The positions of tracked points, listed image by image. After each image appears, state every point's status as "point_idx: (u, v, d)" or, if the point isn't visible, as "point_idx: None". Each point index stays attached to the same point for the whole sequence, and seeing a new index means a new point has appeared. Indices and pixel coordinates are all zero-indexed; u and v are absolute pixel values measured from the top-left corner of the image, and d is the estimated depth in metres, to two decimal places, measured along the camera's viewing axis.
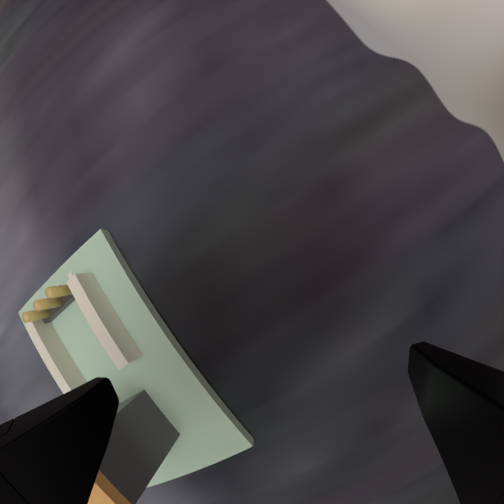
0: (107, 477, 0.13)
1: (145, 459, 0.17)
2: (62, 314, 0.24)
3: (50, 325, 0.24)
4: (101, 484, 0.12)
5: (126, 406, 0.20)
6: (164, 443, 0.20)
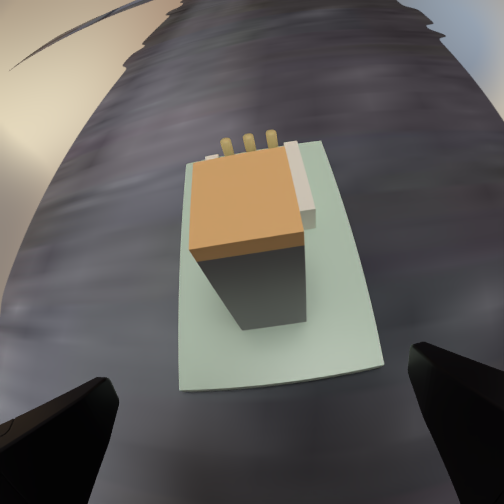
0: None
1: None
2: None
3: None
4: None
5: None
6: None
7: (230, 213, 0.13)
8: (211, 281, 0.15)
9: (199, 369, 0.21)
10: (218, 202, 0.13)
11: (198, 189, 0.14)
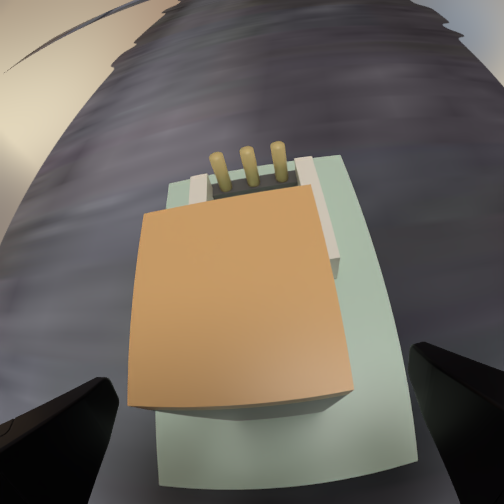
0: None
1: None
2: None
3: None
4: None
5: None
6: None
7: (204, 337, 0.06)
8: (182, 414, 0.08)
9: (183, 464, 0.14)
10: (181, 308, 0.07)
11: (147, 273, 0.07)
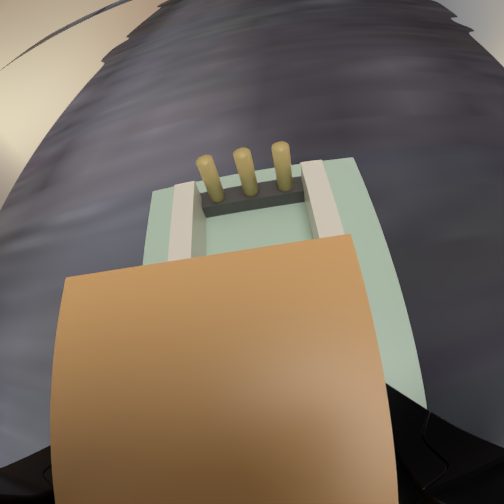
0: None
1: None
2: (236, 215, 0.19)
3: (204, 218, 0.19)
4: None
5: None
6: None
7: None
8: None
9: None
10: (119, 467, 0.03)
11: (66, 391, 0.04)
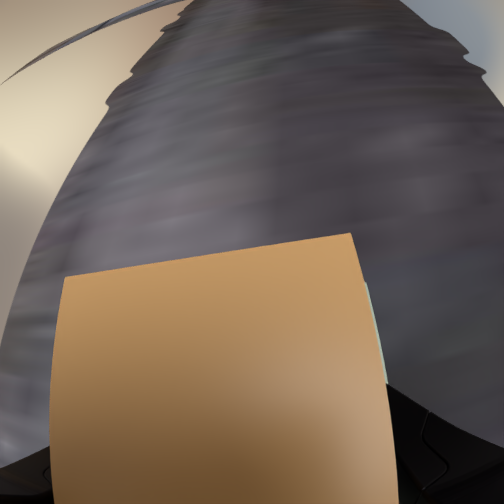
0: None
1: None
2: None
3: None
4: None
5: None
6: None
7: None
8: None
9: None
10: (118, 467, 0.03)
11: (66, 391, 0.04)
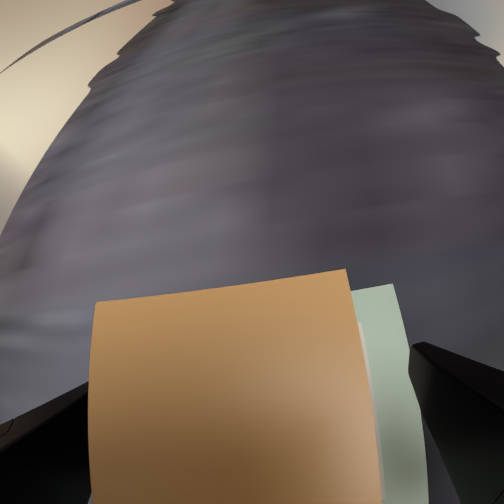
0: None
1: None
2: None
3: None
4: None
5: None
6: None
7: None
8: None
9: None
10: (153, 465, 0.04)
11: (103, 402, 0.04)
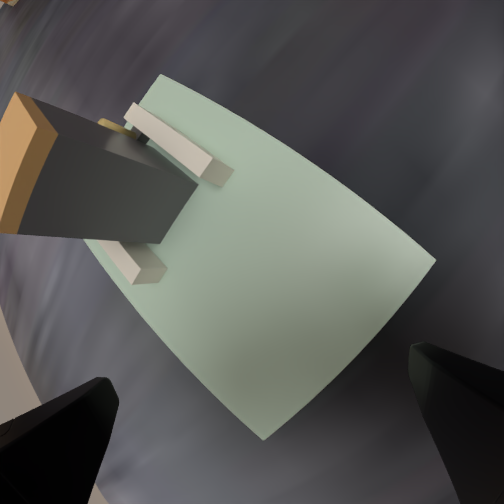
0: (44, 113, 0.10)
1: (119, 147, 0.13)
2: None
3: None
4: (29, 109, 0.09)
5: (118, 132, 0.17)
6: (164, 167, 0.16)
7: (2, 176, 0.09)
8: (52, 234, 0.12)
9: (261, 411, 0.16)
10: None
11: None
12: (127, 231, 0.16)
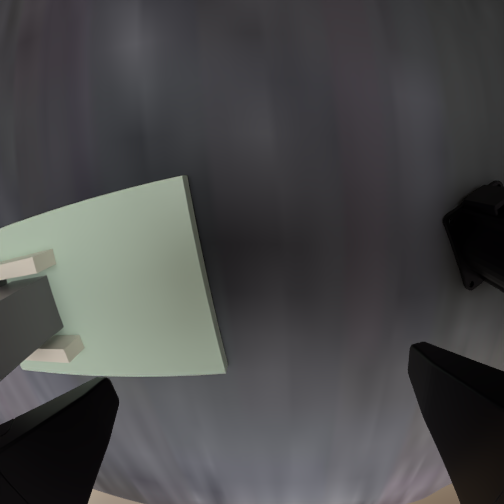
0: None
1: None
2: None
3: None
4: None
5: None
6: (20, 286, 0.18)
7: None
8: (3, 375, 0.14)
9: (201, 357, 0.21)
10: None
11: None
12: (37, 337, 0.18)
